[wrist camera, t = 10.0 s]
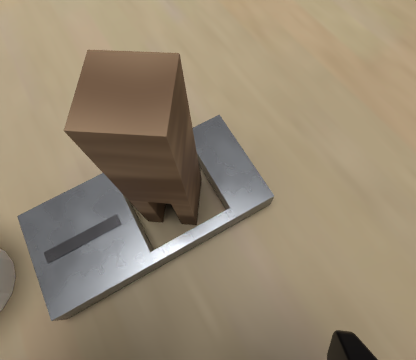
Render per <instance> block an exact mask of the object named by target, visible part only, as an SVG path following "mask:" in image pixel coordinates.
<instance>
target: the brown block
mask: <svg viewBox="0 0 416 360" xmlns="http://www.w3.org/2000/svg"><path fill="white" fill-rule="evenodd" d="M64 131H65V132H66V134H67V135H68V136H69V137H70V138H71V139H72V140H73V141H74V142H75V143H76V144H77V145H78V146H79V147H80V149H81V150H82V151H83V152H84V153H85V154H86V155H87V156H88V157H89V158H90V159H91V160H92V161H93V163H94V164H95V165H96V166H97V167H98V168H99V169H100V170H101V171H102V172H103V173H104V174H105V175H106V176H107V178H108V179H109V180H110V181H111V182H112V183H113V184H114V185H115V186H116V187H117V188H118V189H119V190H120V191H121V193H122V194H123V195H124V196H125V197H126V198H127V199H128V200H129V201H130V202H131V203H132V204H133V205H134V206H135V208H136V209H137V210H138V211H139V212H140V213H141V214H142V215H143V216H144V217H145V218H146V219H147V220H148V221H153V222H163V218H164V211H165V204H166V203H168V204H171V205H172V206H173V208H174V210H175V212H176V214H177V216H178V218H179V220H180V222H181V223H182V224H191V225H197V216H198V207H199V197H200V188H201V174H200V168H199V163H198V157H197V151H196V145H195V140H194V134H193V128H192V122H191V117H190V111H189V105H188V100H187V94H186V88H185V82H184V77H183V71H182V65H181V60H180V54H179V53H160V52H133V51H106V50H87V54H86V57H85V61H84V64H83V67H82V71H81V74H80V78H79V81H78V84H77V88H76V91H75V94H74V98H73V101H72V105H71V108H70V111H69V115H68V118H67V122H66V125H65V128H64Z"/></svg>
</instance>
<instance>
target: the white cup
mask: <svg viewBox="0 0 416 360" xmlns="http://www.w3.org/2000/svg"><path fill="white" fill-rule="evenodd" d="M15 278H16V275H15V269H14V263H13V261H12V260H11V258H10V257H9V255H8V254H7V253H6V251H4V250H2V249H0V311H1V310H2V309H3V308H4V306H5V305H6V303H7V301H8V299H9V298H10V296H11V294H12V292H13V287H14V283H15Z"/></svg>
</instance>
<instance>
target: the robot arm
mask: <svg viewBox="0 0 416 360" xmlns="http://www.w3.org/2000/svg"><path fill="white" fill-rule="evenodd" d="M327 360H378V359H377V358H376V357H375V356H374V355H373V354H372V353H371V352H370V350H369V349H368V348H367V347H366V346H365V345H364V344H363V343H362V341H361V340H360V339H359V338H358V337H357V336H356V335H355V334H354V333H352V332H349V331H340V330H336V331H335V332H334V333H333V336H332V339H331V343H330V346H329V350H328V353H327Z"/></svg>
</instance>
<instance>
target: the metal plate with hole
mask: <svg viewBox="0 0 416 360" xmlns="http://www.w3.org/2000/svg"><path fill="white" fill-rule="evenodd" d="M193 134H194V140H195V145H196V151H197V157H198V163H199V165H200V167H201V168H202V170H203V172H204V173H205V175H206V177H207V178H208V180H209V182H210V183H211V185H212V187H213V188H214V190H215V192H216V193H217V195H218V197H219V198H220V200H221V202H222V203H223V205H224V207H225V208H226V211H224V212H222V213H220V214H218V215H217V216H215V217H213V218H211V219H209V220H207V221H206V222H204V223H202V224H200V225H198V226H197V227H195V228H193V229H191V230H189V231H188V232H186V233H184V234H182V235H180V236H179V237H177V238H175V239H173V240H171V241H170V242H168V243H166V244H164V245H162V246H161V247H159V248H157V249H155V250H153V248H152V246H151V244H150V242H149V240H148V238H147V236H146V234H145V232H144V230H143V227H142V225H141V223H140V221H139V219H138V217H137V215H136V213H135V211H134V209H133V207H132V205H131V203H130V201H129V200H128V199H127V198H126V197H125V196H124V195H123V194H122V193H121V191H120V190H119V189H118V188H117V187H116V186H115V185H114V184H113V183H112V182H111V181H110V180H109V179H108V178H107V176H106V175H105V174H104V173H102V174H100V175H98V176H96V177H94V178H92V179H90V180H88V181H86V182H84V183H82V184H80V185H78V186H76V187H74V188H72V189H70V190H68V191H66V192H64V193H62V194H60V195H58V196H56V197H54V198H52V199H50V200H48V201H46V202H44V203H42V204H40V205H38V206H36V207H34V208H32V209H31V210H29V211H27V212H25V213H23V214H21V215H19V216H17V217H18V220H19V223H20V226H21V229H22V232H23V235H24V238H25V241H26V244H27V247H28V250H29V254H30V257H31V260H32V263H33V266H34V269H35V272H36V275H37V278H38V281H39V284H40V287H41V290H42V293H43V297H44V300H45V303H46V306H47V309H48V312H49V315H50V318H51V321H55V320H64V319H68V318H70V317H72V316H73V315H75V314H77V313H79V312H80V311H82V310H84V309H86V308H87V307H89V306H91V305H93V304H95V303H96V302H98V301H100V300H102V299H103V298H105V297H107V296H109V295H111V294H112V293H114V292H116V291H118V290H119V289H121V288H123V287H125V286H126V285H128V284H130V283H132V282H134V281H135V280H137V279H139V278H141V277H142V276H144V275H146V274H148V273H149V272H151V271H153V270H155V269H157V268H158V267H160V266H162V265H164V264H165V263H167V262H169V261H171V260H173V259H174V258H176V257H178V256H180V255H181V254H183V253H185V252H187V251H188V250H190V249H192V248H194V247H196V246H197V245H199V244H201V243H203V242H204V241H206V240H208V239H210V238H211V237H213V236H215V235H217V234H219V233H220V232H222V231H224V230H226V229H227V228H229V227H231V226H233V225H235V224H236V223H238V222H240V221H242V220H243V219H245V218H247V217H249V216H250V215H252V214H254V213H256V212H258V211H259V210H261V209H263V208H265V207H266V206H268V205H270V204H271V201H272V199H273V197H274V195H273V193H272V192H271V190H270V189H269V187H268V186H267V184H266V183H265V181H264V180H263V178H262V177H261V176H260V174H259V173H258V171H257V170H256V168H255V167H254V165H253V164H252V162H251V161H250V159H249V158H248V156H247V155H246V153H245V152H244V150H243V149H242V147H241V146H240V145H239V143H238V142H237V140H236V139H235V137H234V136H233V134H232V133H231V131H230V130H229V128H228V127H227V125H226V124H225V122H224V121H223V119H222V118H221V116H220V115H218V116H216V117H214V118H212V119H210V120H208V121H206V122H204V123H202V124H200V125H198V126H196V127H194V128H193Z"/></svg>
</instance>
